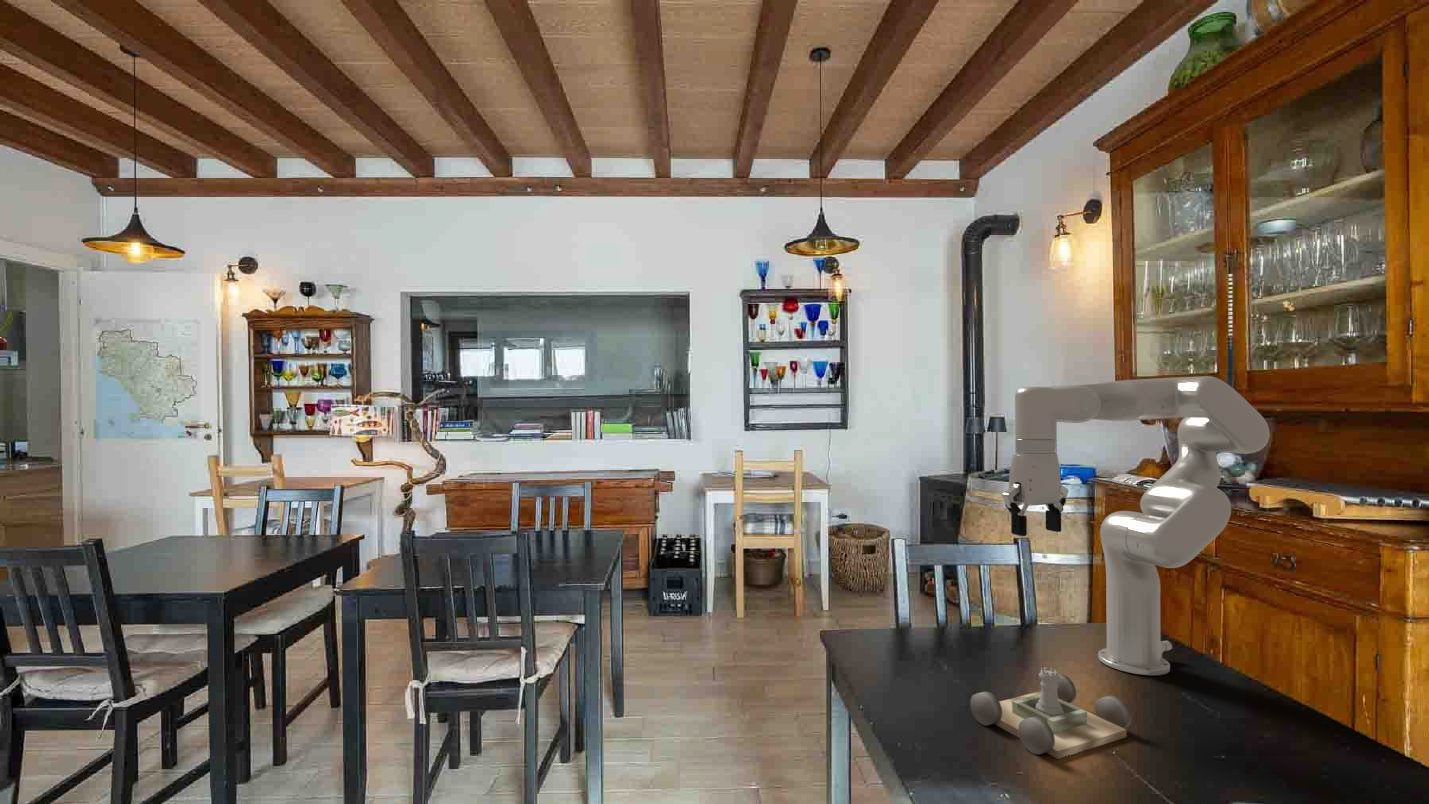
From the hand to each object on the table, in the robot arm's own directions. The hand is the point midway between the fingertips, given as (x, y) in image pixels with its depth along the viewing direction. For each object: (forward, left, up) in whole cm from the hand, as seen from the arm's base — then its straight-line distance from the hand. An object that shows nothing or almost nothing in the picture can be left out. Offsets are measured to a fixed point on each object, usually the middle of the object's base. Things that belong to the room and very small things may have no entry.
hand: (1036, 532), depth 132 cm
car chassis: (+17, +16, -28) cm, 36 cm away
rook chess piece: (+16, +16, -27) cm, 36 cm away
